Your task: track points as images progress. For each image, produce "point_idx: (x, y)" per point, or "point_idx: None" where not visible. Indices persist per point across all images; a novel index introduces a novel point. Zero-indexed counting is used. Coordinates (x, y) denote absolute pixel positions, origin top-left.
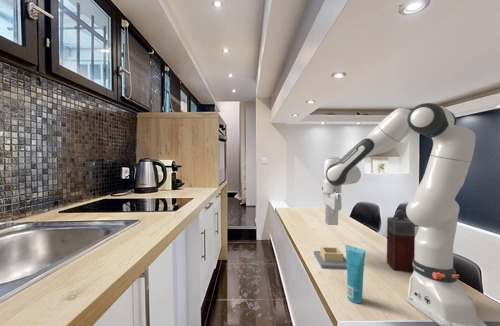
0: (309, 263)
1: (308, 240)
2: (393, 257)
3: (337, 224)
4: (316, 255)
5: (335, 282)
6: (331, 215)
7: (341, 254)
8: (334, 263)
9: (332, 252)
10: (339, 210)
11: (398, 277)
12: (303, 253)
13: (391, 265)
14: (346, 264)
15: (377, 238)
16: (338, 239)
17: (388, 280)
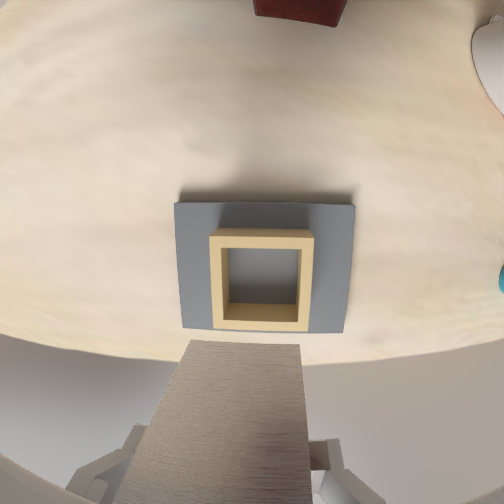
0: None
1: (44, 296)
2: (344, 1)
3: (299, 354)
4: (238, 330)
5: (440, 303)
6: None
7: (312, 246)
8: (327, 276)
9: (225, 260)
10: (499, 492)
11: (398, 49)
12: None
13: (315, 18)
14: (336, 222)
15: (15, 12)
16: (11, 158)
17: (427, 101)
